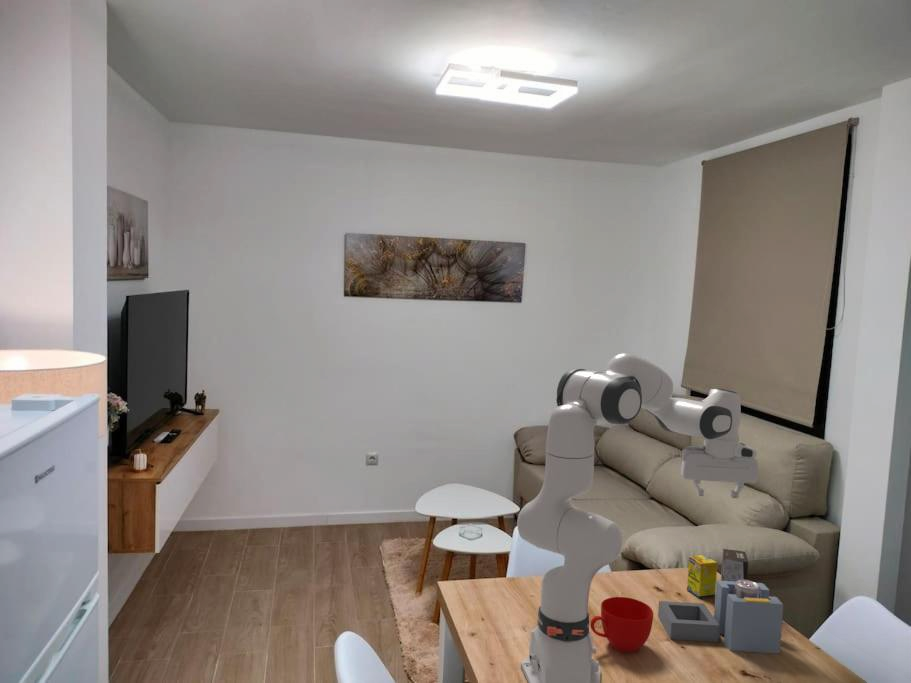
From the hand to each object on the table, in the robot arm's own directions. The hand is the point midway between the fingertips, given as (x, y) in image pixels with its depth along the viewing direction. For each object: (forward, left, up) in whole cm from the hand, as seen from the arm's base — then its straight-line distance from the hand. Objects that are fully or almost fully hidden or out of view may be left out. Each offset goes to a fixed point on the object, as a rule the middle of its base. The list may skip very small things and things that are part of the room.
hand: (717, 496), depth 184 cm
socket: (-9, -6, -35) cm, 37 cm away
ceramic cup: (-17, +29, -36) cm, 49 cm away
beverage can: (-9, -6, -36) cm, 37 cm away
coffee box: (+9, -9, -36) cm, 38 cm away
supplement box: (+18, -3, -36) cm, 40 cm away
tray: (-5, +8, -35) cm, 37 cm away
